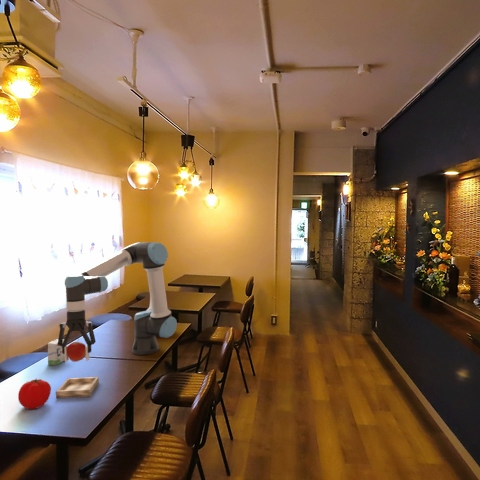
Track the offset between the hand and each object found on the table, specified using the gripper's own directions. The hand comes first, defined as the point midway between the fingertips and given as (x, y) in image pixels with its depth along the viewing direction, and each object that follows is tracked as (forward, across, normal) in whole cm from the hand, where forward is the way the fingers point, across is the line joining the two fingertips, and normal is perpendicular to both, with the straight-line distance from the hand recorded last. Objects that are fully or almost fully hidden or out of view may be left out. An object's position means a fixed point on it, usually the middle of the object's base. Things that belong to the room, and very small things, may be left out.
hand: (77, 360), depth 170 cm
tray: (+14, 0, 0) cm, 14 cm away
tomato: (+14, +13, +13) cm, 23 cm away
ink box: (+14, +23, -38) cm, 47 cm away
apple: (+1, 0, 0) cm, 1 cm away
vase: (+14, -24, -85) cm, 90 cm away
